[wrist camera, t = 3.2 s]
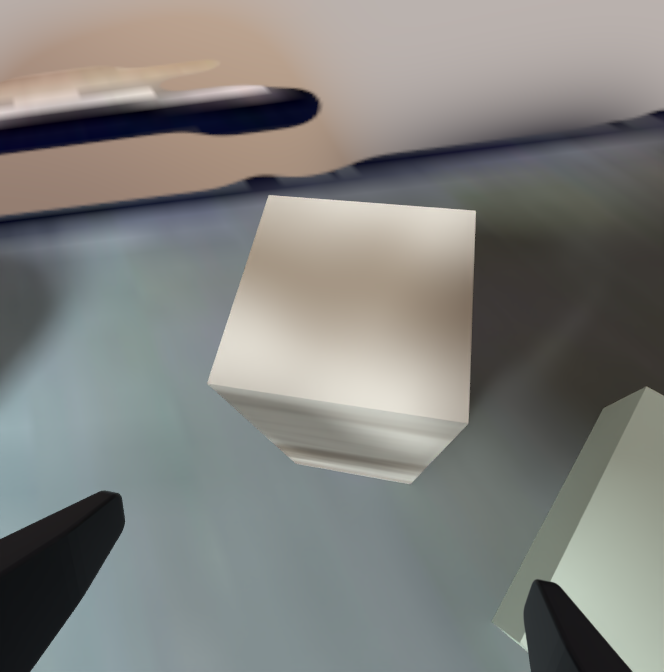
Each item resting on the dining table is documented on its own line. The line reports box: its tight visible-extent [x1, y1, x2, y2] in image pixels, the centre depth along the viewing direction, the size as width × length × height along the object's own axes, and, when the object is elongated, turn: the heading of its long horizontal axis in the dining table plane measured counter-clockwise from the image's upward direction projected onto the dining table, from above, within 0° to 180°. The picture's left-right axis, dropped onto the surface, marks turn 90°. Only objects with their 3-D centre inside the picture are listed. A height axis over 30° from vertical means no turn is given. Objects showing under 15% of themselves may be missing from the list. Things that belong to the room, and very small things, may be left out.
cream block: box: [207, 195, 476, 484], centre depth 16 cm, size 6×6×13 cm
